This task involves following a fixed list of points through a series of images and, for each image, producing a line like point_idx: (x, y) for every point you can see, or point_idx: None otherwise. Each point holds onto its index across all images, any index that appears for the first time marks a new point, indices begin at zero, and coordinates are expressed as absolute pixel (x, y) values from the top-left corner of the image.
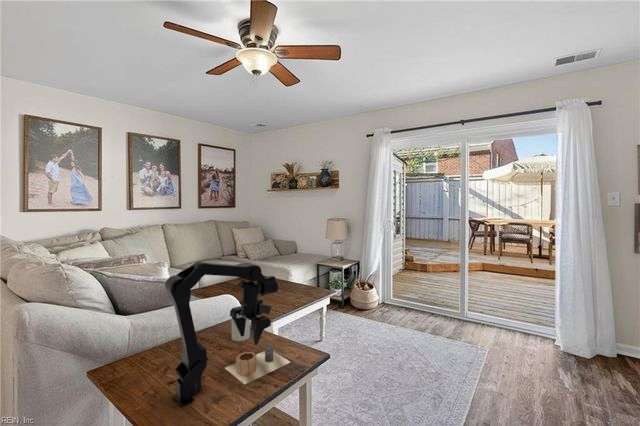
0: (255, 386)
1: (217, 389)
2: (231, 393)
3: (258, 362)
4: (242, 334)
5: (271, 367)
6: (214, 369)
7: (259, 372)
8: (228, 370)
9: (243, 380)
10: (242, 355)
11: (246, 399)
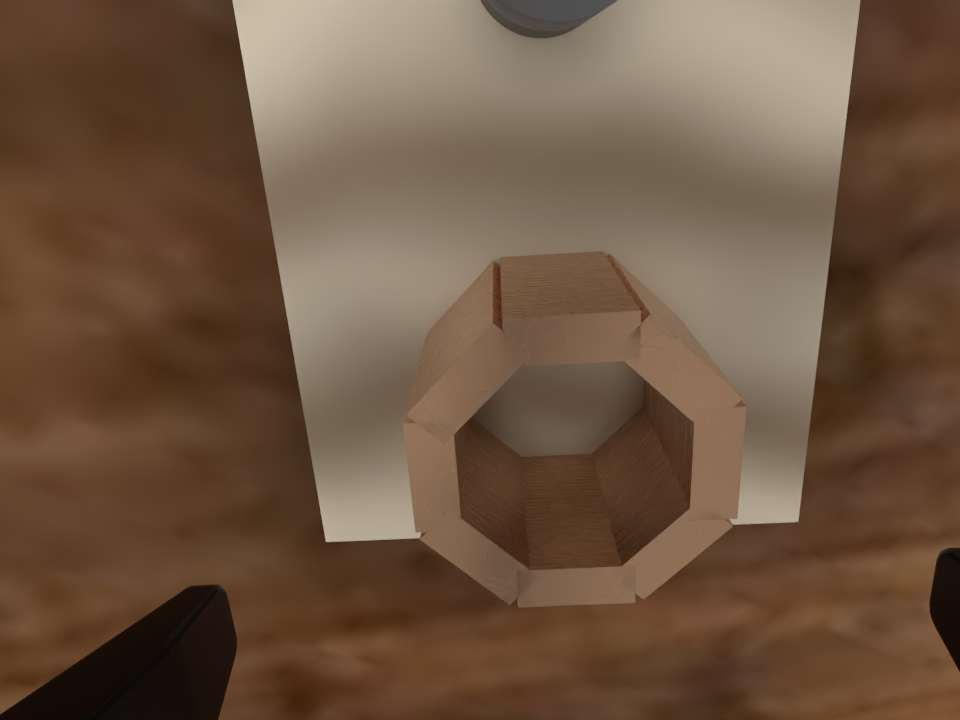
0: (836, 393)
1: (583, 662)
2: (737, 604)
3: (493, 151)
4: (213, 664)
5: (760, 65)
6: (220, 565)
7: (730, 277)
8: (411, 532)
9: None
10: (458, 477)
11: (931, 549)
